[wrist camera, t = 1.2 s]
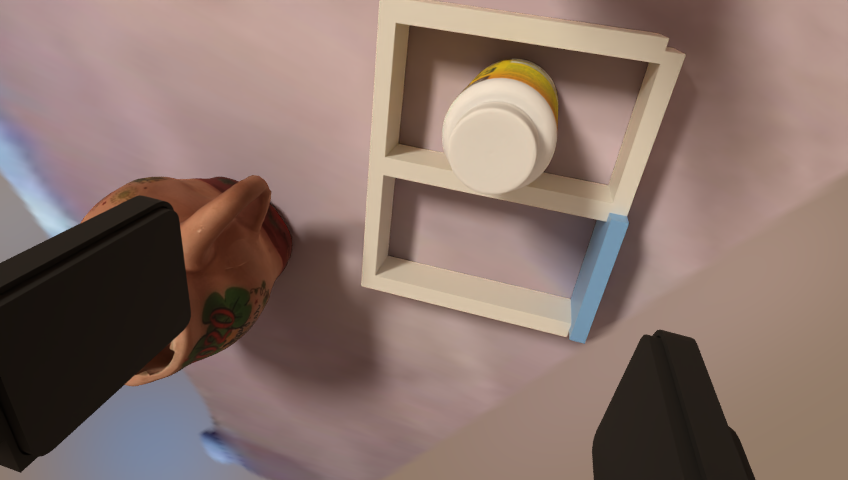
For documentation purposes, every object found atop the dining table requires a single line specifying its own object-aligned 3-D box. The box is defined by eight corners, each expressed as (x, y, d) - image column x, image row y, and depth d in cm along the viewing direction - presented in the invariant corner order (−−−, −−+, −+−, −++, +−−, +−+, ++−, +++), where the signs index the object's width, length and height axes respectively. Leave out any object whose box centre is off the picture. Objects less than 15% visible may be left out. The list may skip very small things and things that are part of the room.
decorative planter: (242, 68, 33) (63, 115, 21) (375, 187, 35) (279, 293, 23) (144, 242, 43) (-16, 340, 31) (251, 328, 45) (139, 453, 33)
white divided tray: (677, 36, 26) (695, 43, 23) (579, 315, 35) (582, 350, 32) (396, -5, 29) (373, -4, 25) (374, 265, 38) (356, 293, 35)
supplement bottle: (501, 37, 28) (474, 60, 19) (578, 91, 29) (585, 138, 20) (451, 116, 31) (407, 167, 22) (521, 164, 31) (506, 233, 23)
